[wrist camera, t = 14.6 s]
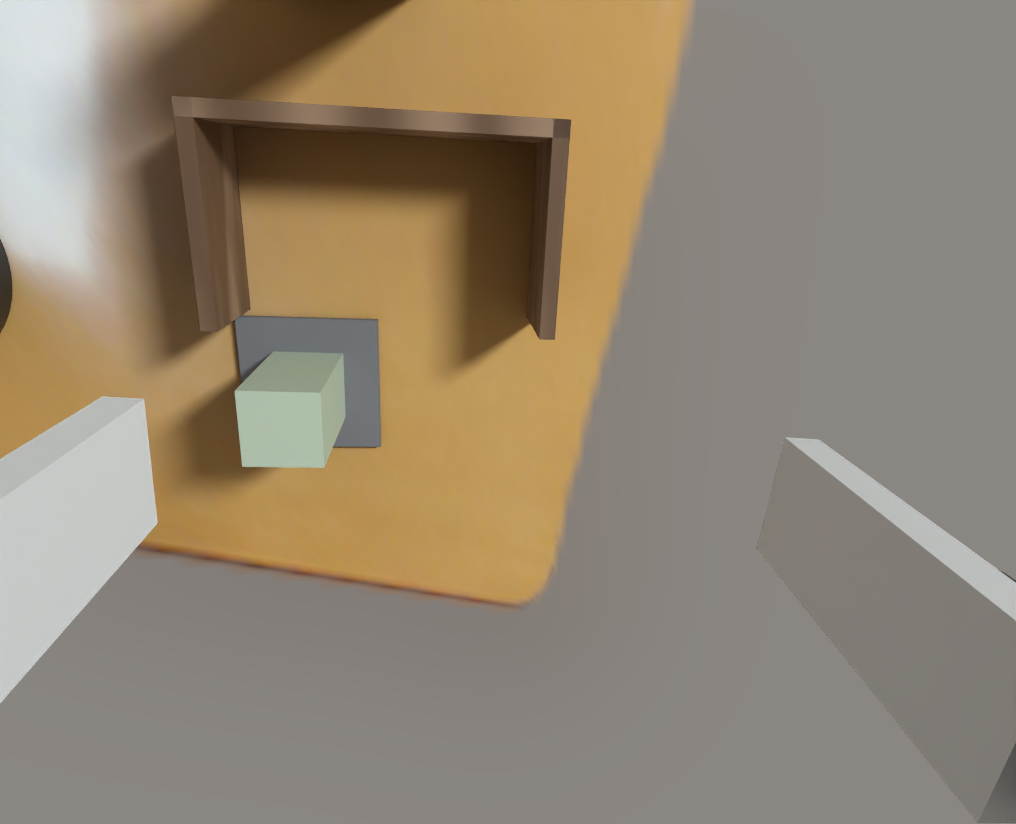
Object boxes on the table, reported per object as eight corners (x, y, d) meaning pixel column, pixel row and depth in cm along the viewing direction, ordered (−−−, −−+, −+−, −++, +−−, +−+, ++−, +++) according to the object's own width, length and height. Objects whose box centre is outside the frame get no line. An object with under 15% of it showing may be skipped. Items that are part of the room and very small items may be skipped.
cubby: (235, 308, 45) (200, 331, 39) (215, 108, 41) (171, 95, 34) (539, 316, 48) (554, 339, 41) (552, 128, 43) (570, 119, 37)
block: (278, 415, 48) (242, 466, 40) (273, 351, 46) (234, 390, 38) (345, 416, 48) (324, 467, 40) (343, 353, 47) (320, 392, 38)
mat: (249, 443, 49) (247, 445, 49) (236, 315, 46) (234, 316, 45) (380, 444, 50) (380, 446, 50) (377, 319, 47) (377, 320, 46)
